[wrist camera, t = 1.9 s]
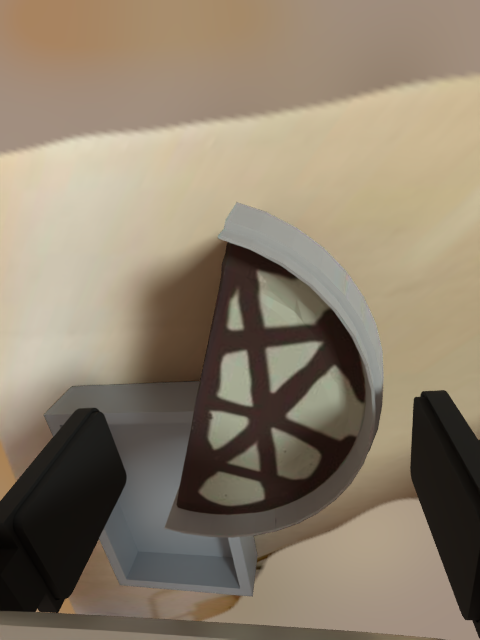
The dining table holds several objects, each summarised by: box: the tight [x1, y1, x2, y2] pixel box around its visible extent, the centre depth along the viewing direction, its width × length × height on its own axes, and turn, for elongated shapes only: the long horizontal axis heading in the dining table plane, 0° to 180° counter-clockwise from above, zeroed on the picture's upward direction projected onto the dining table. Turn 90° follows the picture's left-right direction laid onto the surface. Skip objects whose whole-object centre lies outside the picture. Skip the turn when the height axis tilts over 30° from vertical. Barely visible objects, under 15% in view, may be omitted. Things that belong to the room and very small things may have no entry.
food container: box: [165, 202, 383, 538], centre depth 15 cm, size 12×6×10 cm, turn 168°
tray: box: [44, 381, 257, 596], centre depth 26 cm, size 11×17×3 cm, turn 9°
